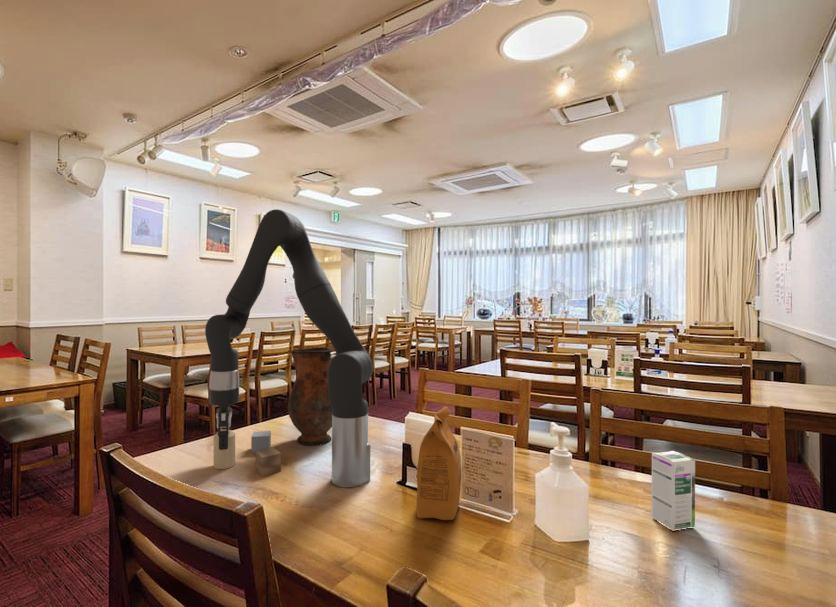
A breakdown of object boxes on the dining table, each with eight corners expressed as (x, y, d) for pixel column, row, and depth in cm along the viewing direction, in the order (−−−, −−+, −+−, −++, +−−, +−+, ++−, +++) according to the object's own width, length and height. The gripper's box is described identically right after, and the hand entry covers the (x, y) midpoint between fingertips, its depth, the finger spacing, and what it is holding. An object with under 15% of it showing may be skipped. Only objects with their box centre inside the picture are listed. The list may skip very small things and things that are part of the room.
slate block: (270, 446, 132) (270, 430, 132) (268, 452, 127) (268, 435, 127) (253, 447, 131) (253, 431, 131) (251, 453, 126) (251, 436, 126)
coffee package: (466, 499, 99) (467, 406, 98) (455, 527, 87) (456, 421, 86) (426, 493, 102) (426, 402, 101) (409, 519, 90) (410, 417, 89)
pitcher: (303, 430, 148) (303, 345, 147) (360, 435, 143) (360, 347, 142) (276, 446, 132) (276, 351, 131) (339, 453, 127) (339, 354, 126)
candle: (239, 462, 120) (239, 427, 119) (228, 470, 114) (228, 433, 114) (220, 461, 120) (220, 426, 120) (209, 469, 115) (209, 432, 114)
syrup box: (673, 533, 86) (674, 462, 85) (650, 518, 91) (651, 451, 91) (695, 529, 87) (696, 459, 87) (671, 514, 93) (672, 449, 92)
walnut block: (274, 465, 118) (274, 447, 117) (280, 471, 114) (280, 453, 114) (255, 470, 114) (256, 451, 114) (262, 476, 111) (262, 457, 110)
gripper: (239, 390, 112) (238, 451, 112) (239, 380, 125) (238, 434, 125) (207, 392, 109) (207, 455, 109) (211, 381, 122) (210, 437, 122)
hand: (223, 443), depth 117 cm, fingers open, 8 cm apart
